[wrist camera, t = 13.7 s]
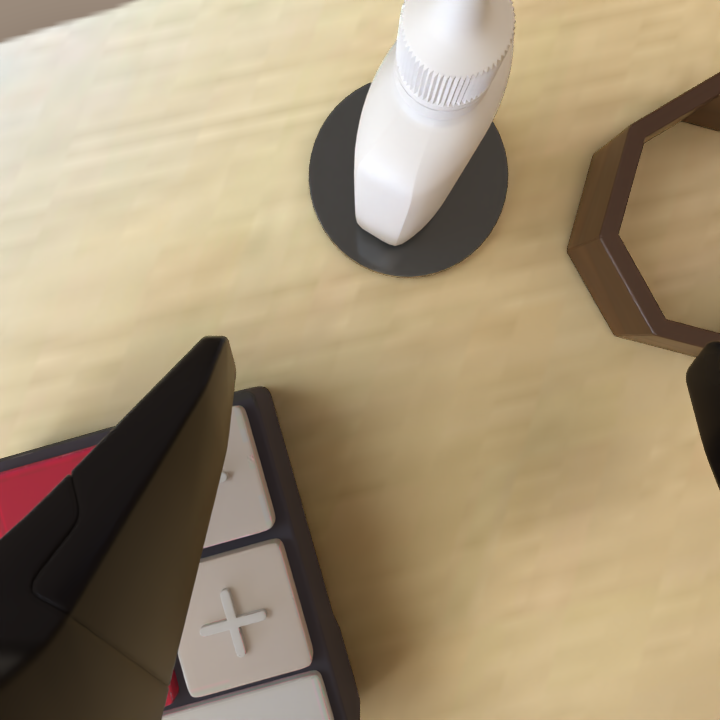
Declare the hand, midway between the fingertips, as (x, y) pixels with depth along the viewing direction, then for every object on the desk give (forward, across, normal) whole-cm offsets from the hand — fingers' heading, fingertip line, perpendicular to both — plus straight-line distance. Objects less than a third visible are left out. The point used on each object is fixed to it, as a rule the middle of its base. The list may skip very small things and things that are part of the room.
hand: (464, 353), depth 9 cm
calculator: (+2, +9, +16) cm, 19 cm away
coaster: (+14, 0, +4) cm, 14 cm away
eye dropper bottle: (+13, 0, +4) cm, 14 cm away
